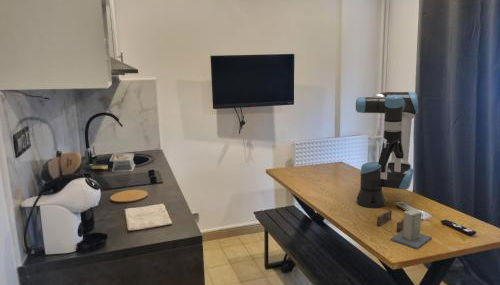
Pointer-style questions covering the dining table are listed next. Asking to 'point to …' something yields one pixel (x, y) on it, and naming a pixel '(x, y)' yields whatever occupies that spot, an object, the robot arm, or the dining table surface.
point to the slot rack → (387, 217)
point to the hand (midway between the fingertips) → (390, 175)
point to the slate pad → (411, 243)
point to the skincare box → (411, 224)
